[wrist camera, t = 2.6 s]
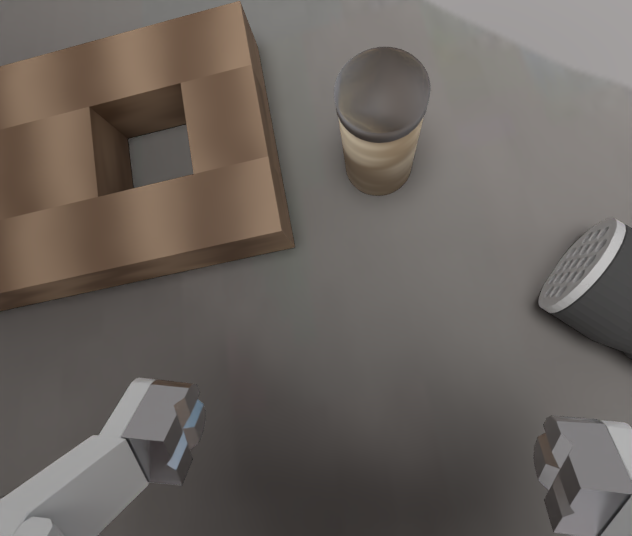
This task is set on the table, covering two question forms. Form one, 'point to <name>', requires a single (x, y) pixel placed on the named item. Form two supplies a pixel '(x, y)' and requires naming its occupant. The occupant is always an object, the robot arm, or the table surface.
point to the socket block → (114, 160)
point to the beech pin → (381, 116)
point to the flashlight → (595, 286)
